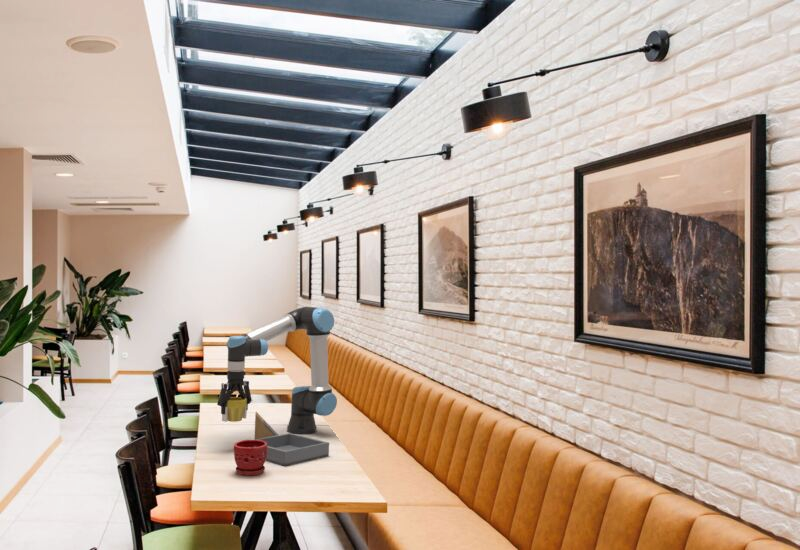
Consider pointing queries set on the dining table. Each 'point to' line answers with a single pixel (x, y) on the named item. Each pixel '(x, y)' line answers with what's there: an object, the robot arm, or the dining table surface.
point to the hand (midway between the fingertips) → (234, 419)
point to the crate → (294, 449)
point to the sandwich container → (262, 428)
